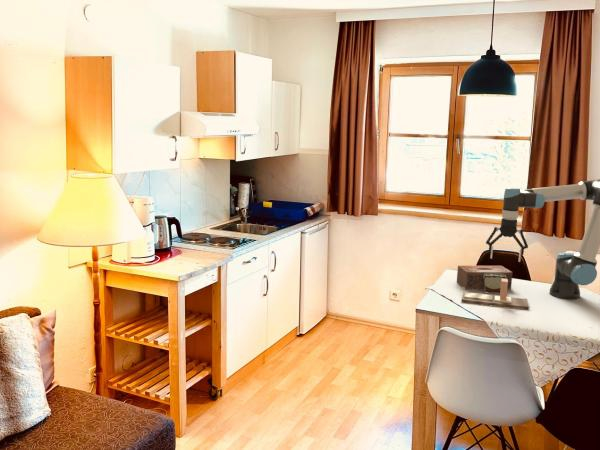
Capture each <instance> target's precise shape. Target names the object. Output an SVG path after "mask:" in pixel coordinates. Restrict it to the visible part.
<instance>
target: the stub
mask: <svg viewBox="0 0 600 450" xmlns="http://www.w3.org/2000/svg"><path fill="white" fill-rule="evenodd" d="M507 286H508V279H503V278H502V279H501V290H500V293H499V295H495V301H496V302H505V303H511V297H512V296H507V295H508V289H507Z"/></svg>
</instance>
